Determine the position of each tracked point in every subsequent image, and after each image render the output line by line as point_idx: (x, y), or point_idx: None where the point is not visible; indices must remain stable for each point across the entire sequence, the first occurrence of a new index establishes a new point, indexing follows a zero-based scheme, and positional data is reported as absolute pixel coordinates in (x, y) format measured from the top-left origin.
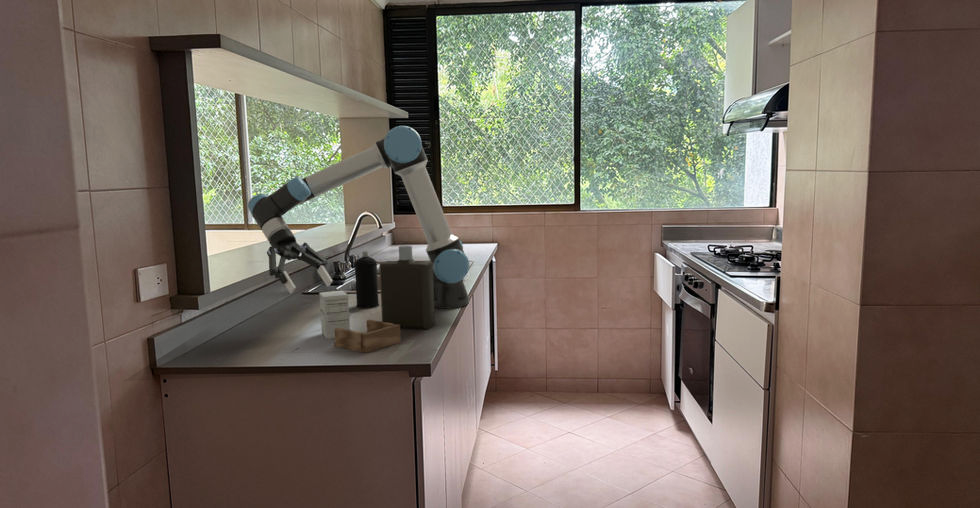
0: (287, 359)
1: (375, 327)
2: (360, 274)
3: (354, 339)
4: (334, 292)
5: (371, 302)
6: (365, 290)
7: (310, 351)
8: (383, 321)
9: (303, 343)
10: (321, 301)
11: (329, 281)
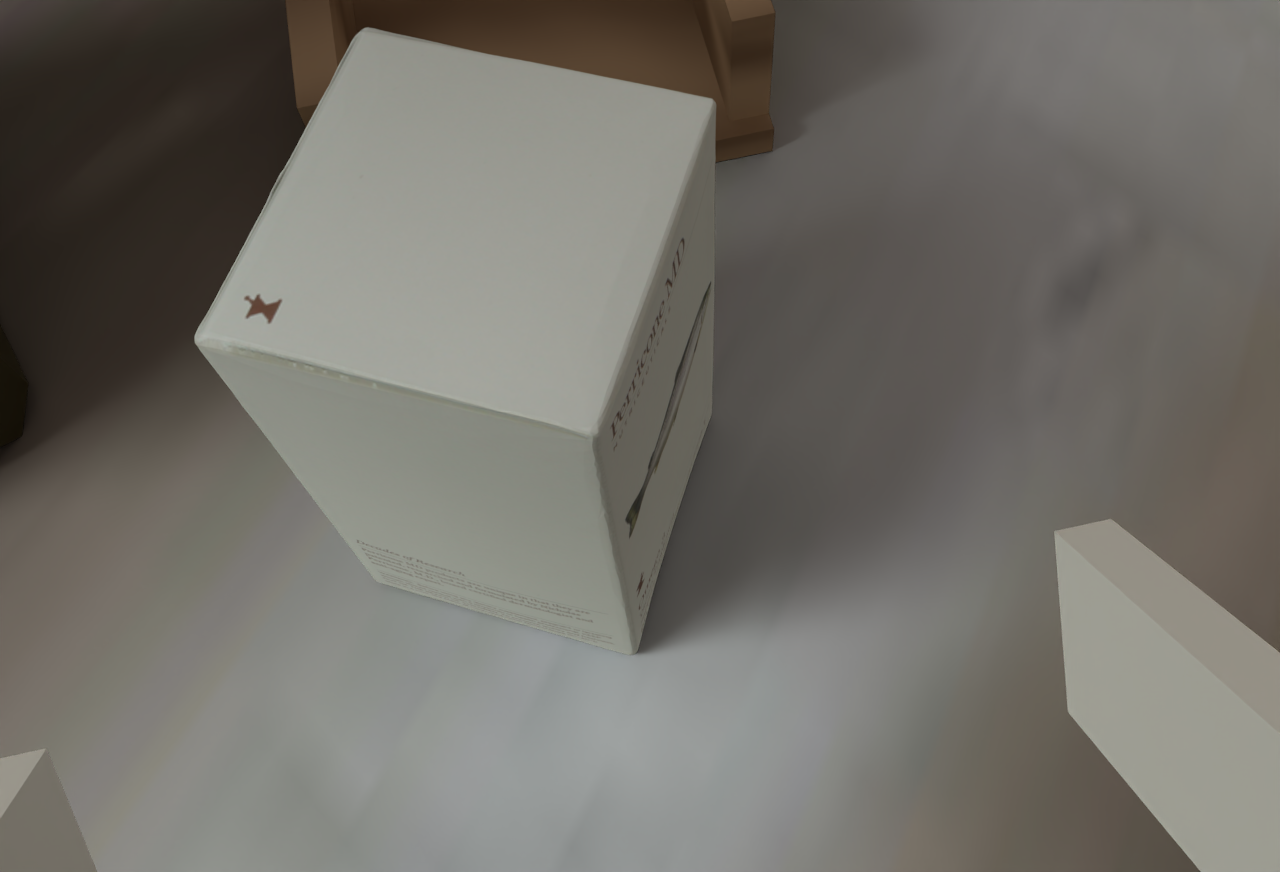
0: (1251, 59)
1: (344, 45)
2: None
3: None
4: (409, 257)
5: None
6: None
7: (1009, 138)
8: (5, 363)
9: (968, 415)
10: (676, 302)
11: (51, 807)
